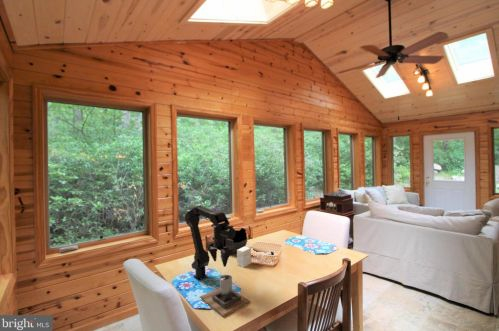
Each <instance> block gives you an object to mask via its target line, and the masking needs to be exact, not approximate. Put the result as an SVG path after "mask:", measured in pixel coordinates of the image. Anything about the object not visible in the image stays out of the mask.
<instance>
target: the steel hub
mask: <svg viewBox="0 0 499 331" xmlns="http://www.w3.org/2000/svg"><path fill="white" fill-rule="evenodd" d="M219 288H220V300H222V301H223V302H224V303H225V302H227V301H229V300H231V299H233V293H232V289H233V276H232V275H230V274H222V275H221V276H220V277H219Z"/></svg>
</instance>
